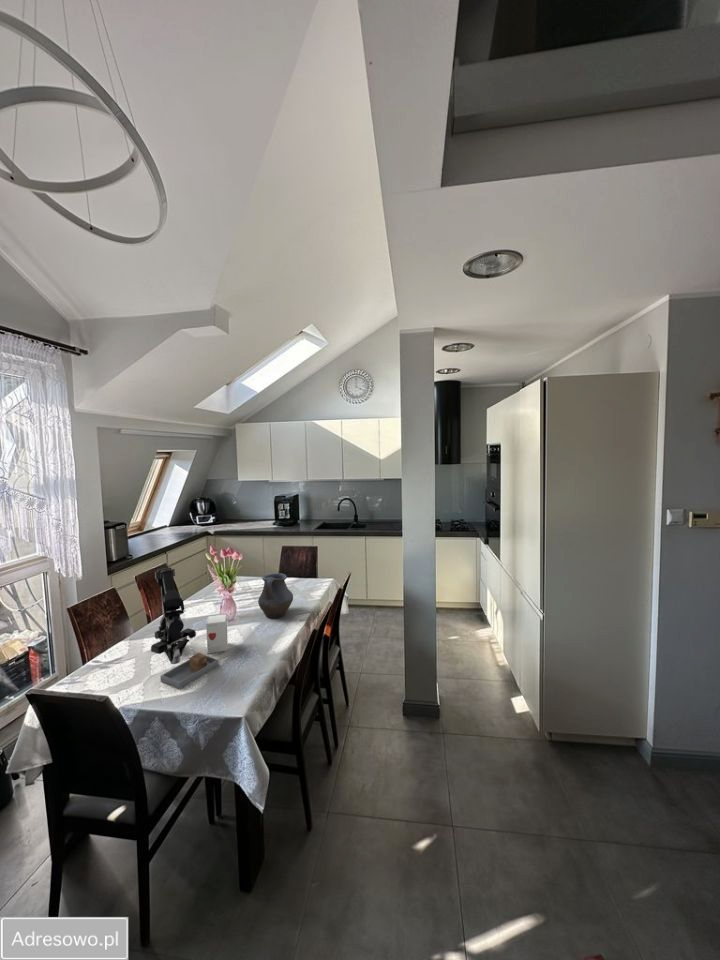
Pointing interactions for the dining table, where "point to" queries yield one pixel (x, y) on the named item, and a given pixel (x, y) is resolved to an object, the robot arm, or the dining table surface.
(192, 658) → the walnut block
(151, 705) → the dining table surface
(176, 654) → the steel peg
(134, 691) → the dining table surface
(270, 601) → the pitcher
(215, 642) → the supplement box
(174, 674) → the tray
